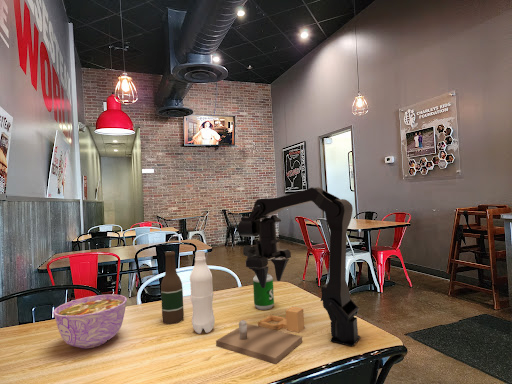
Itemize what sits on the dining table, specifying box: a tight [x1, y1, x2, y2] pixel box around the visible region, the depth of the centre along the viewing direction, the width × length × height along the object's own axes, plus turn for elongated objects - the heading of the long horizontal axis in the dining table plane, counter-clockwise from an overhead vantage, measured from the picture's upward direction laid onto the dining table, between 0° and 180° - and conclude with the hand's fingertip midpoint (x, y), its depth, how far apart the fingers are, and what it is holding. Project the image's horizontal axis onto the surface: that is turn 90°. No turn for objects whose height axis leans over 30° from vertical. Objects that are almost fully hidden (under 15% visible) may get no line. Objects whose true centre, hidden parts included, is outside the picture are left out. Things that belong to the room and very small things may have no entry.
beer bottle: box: [160, 250, 185, 325], centre depth 113 cm, size 8×8×24 cm
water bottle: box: [189, 250, 216, 334], centre depth 103 cm, size 7×7×25 cm
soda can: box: [252, 273, 275, 311], centre depth 122 cm, size 8×8×12 cm
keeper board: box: [215, 319, 303, 365], centre depth 91 cm, size 20×14×7 cm
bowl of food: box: [52, 294, 128, 349], centre depth 98 cm, size 20×20×12 cm
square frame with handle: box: [257, 306, 305, 333], centre depth 103 cm, size 14×7×6 cm, turn 54°
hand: (271, 284), depth 105 cm, fingers open, 9 cm apart
